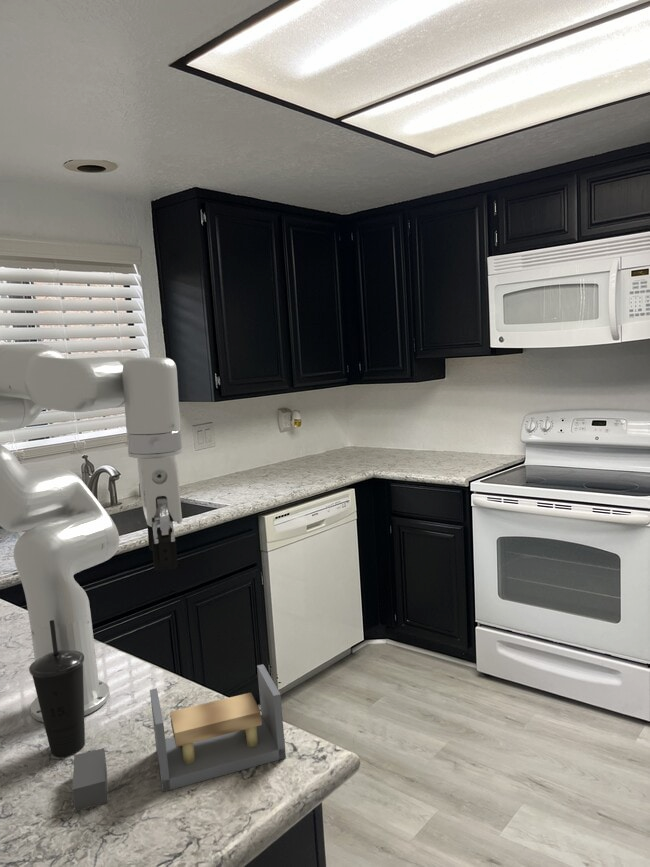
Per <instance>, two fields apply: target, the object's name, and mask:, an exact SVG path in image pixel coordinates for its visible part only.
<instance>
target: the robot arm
mask: <svg viewBox="0 0 650 867" xmlns="http://www.w3.org/2000/svg"><path fill="white" fill-rule="evenodd" d="M178 386H179V383H178V369H177V365H176V362H175V361H174V360H173V359H171V358H169V357H161V356H160V357H158V356H157V357H153V356H152V357H151V356H150V357H135V356H134V357H132V356H105V357H104V356H100V357H81V358H79V357H78V358H67V357H66V356H65V355H64V354H63V353H62V352H60V351H59V350H56V349H55V348H53V347H52V346H49V345H47V344H43V343H18V344H17V343H15V344H13V343H12V344H11V343H9V344H0V432H1V433H2V432H9V431H14V430H15V431H17V430H21V429H23V428H24V429H25V428H26V427H29V426H30V425H31V424H32V423H33V422H34V421H35V420H36V419H37V418H39V415H40V414H41V413H42V411H43V410H44V409H47V410H54V411H60V412H66V413H67V412H69V413H87V412H94V411H101V410H108V409H116V408H118V409H119V408H124V416H125V427H126V430H125V431H126V439H127V453H128V454H127V455H128V457H129V458H134V459H137V468H138V470H137V471H138V483H139V491H140V500H141V504H142V510H143V514H144V518H145V521H146V525H147V526H146V527H147V538H148V539H147V540H148V549H149V551H152V558H153V559H152V560H153V568H154V571H156V572H159V571H168V570H173V569H177V568H178V566H179V565H178V552H177V540H176V538H175V530H174V523H176V524H178V525H180V524H181V523H182V522H183V514H182V505H181V503H182V502H181V494H180V493H181V492H180V482H179V480H180V479H179V473H178V472H179V471H178V470H179V469H178V463H177V458H176V455H180V454H181V453H183V445H182V444H183V443H182V430H181V416H180V400H179V397H180V396H179V387H178ZM0 527H1V528H2V529H4V530H5V531H8V532H12V533H14V532H15V533H18V532H23V531H24V533H23V534H21V535H20V536H19V537H18V539H17V540H16V542H15V544H14V548H13V559H14V563H15V567H16V570H17V572H18V576H19V578H20V581H21V585H22V588H23V592H24V596H25V601H26V608H27V612H28V621H29V626H30V633H31V640H32V642H31V643H32V648H33V658H34V661H36V660H37V659H39V658H41V657H43V656H45V655H47V654H49V653H51V652H53V646H52V638H51V630H50V622H49V621H51V620H54V622H55V630H56V638H57V646H58V651H60V650H72V651H79V652H81V653H83V654H84V658H85V659H84V662H83V686H84V717H85V716H87V715H91V713H94V712H95V711H96V710H99V709H100V708H101V707H102V706H103V705H105V704H106V702H108V699H109V698H110V693H111V692H110V687H109V685H108V684H107V683H106V682H105V681H102V680H99V673H98V664H97V663H98V662H97V655H96V648H95V638H94V632H93V622H92V613H91V608H90V600H89V597H88V595H87V592H86V591H85V589H84V588H83V587H82V586H80V584H79V583H78V582H77V580H75V578H74V575H76V574H77V573H81V572H82V571H84V570H87V569H90V568H92V567H95V566H97V565H99V564H102V563H105V562H106V561H108V560H110V559H111V558H112V557H114V556H115V555H116V553H117V551H118V550H119V546H120V535H119V530H118V528H117V526H116V523H115V522H114V520H113V519H112V517H111V515H110V514H109V513H108V512H107V510H106V509H105V508H104V506H103V505H102V504H101V502H100V501H99V500H98V499H97V498H96V496H95V495H94V493H93V492H92V491H91V490H90V488H89V487H88V486H87V484H85V482H84V481H83V480H82V479H81V478H80V476H79V475H78V474H76V473H74V472H73V471H71V470H69V469H66V468H64V467H62V468H61V467H56V468H55V467H52V468H48V469H47V468H46V469H43V470H42V469H41V470H39V471H30V470H27V468H25V467H24V466H23V465H22V464H21V462H20V461H19V460H18V458H17V456H15V454H14V453H13V452H12V451H10V449H8V448H7V447H5V446H4V445H2V444H0ZM30 714H31V716H32V718H33V719H35V720H36V721H38V722H41V723H44V721H43V717H42V713H41V709H40V705H39V701H38V697H37V696H36V697H35V698H34V700H33V701H32V702H31V705H30Z"/></svg>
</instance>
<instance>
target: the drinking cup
mask: <svg viewBox="0 0 650 867" xmlns="http://www.w3.org/2000/svg"><path fill="white" fill-rule="evenodd" d="M49 622H50V630H51V638H52V646H53V652H51V653H49V654H47V655H45V656H43V657H41V658H39V659H37V660H36V661H35V660H33V662H32V663H31V664H30V666H28V667H29V668H28V669H29V670H28V671H29V674H30V675H31V676H32V680H33V683H34V687H35V692H36V698H37V697H38V701H39V705H40V709H41V713H42V717H43V721H44V722H43V725H44V726H43V727H44V729H45V734H46V738H47V741H48V746H49V749H50V753H51V755H52V756H53V757H56V758H65V757H69V756H72V755H74V754H75V755H76V753H79V752H80V751H81V750H83V748H84V747H85V745H86V734H85V733H86V732H85V726H86V724H85V716H84V686H83V662H84V659H85V658H84V654H83V653H81V652H79V651H72V650H60V651H58V646H57V638H56V630H55V622H54V620H51V621H49Z"/></svg>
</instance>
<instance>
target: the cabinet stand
mask: <svg viewBox="0 0 650 867" xmlns="http://www.w3.org/2000/svg"><path fill="white" fill-rule="evenodd" d="M256 668H257V671H256V672H257V680H258V690H259V693H258V694H259V703H260V711H261V721H262V725H260V726H256V727H252V728H248V729H244V730H241V731H237V732H233V733H229V734H225V735H221V736H217V737H213V738H210V739H206V740H202V741H198V742H194V743H190V744H186V745H182V746H179V747H176V744H175V739H174V736H171V737H168V738H166V735H165V727H164V725H165V724H164V719H163V714H162V709H161V703H160V697H159V693H158V689H157V688H153V689H150V690H149V694H150V705H151V714H152V722H153V723H152V724H153V732H154V738H155V739H154V741H155V749H156V750H155V751H156V755H157V762H158V768H159V770H158V771H159V774H160V775H159V776H160V781H161V789H162V793H163V792H164V793H165V792H167V791H170V790H174V789H178V788H183V787H185V786H189V785H192V784H196V783H199V782H203V781H207V780H210V779H215V778H218V777H222V776H225V775H229V774H232V773H236V772H240V771H244V770H247V769H250V768H254V767H258V766H261V765H265V764H268V763H272V762H276V761H279V760H283V759H286V758H287V754H286V744H285V732H284V720H283V719H284V718H283V709H282V698H281V696H282V695H281V693H280V691H279V689H278V687H277V685H276V683H275V682H274V680H273V679H272V676H271V675H270V673H269V672H268V670H267V668H266V666H265V665H264V663H263V664H257V665H256Z"/></svg>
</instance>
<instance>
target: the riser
mask: <svg viewBox="0 0 650 867" xmlns="http://www.w3.org/2000/svg"><path fill="white" fill-rule="evenodd" d="M73 756H74V758H73V770H72V771H73V772H72V788H71V789H72V790H71V791H72V798H73V806H74V812H77V811H81V810H84V809H89V808H92V807H96V806H99V805H102V804H106V803H108V768H107V767H108V765H107V759H106V750H105V747H104V748H99V749H94V750H91V751H87V752H83V753H79V754H75V755H74V754H73Z"/></svg>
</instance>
